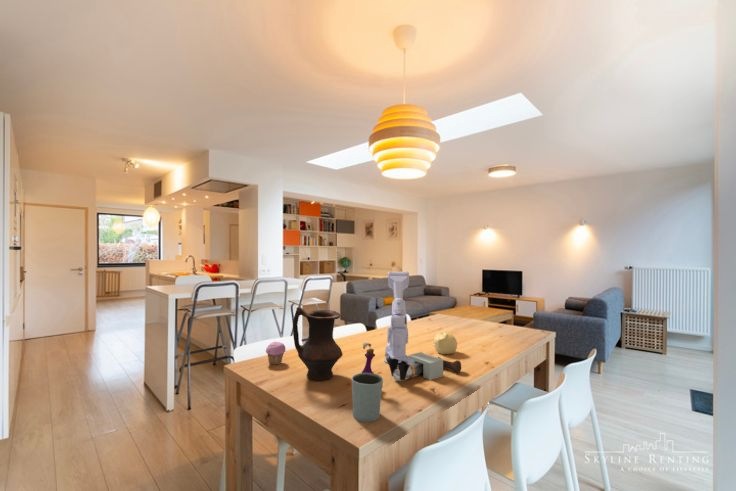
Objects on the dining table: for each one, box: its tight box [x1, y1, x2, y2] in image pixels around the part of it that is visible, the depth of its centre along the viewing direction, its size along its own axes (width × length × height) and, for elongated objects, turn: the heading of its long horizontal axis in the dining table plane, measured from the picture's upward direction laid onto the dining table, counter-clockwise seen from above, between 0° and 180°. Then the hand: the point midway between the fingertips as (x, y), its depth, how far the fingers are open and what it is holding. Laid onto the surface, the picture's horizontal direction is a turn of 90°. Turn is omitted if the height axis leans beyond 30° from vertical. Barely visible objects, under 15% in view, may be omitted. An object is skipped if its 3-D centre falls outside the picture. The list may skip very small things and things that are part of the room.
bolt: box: [436, 356, 462, 374], centre depth 152 cm, size 6×5×15 cm
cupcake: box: [265, 341, 286, 365], centre depth 157 cm, size 9×9×10 cm
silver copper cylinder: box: [391, 363, 423, 382], centre depth 140 cm, size 6×14×6 cm, turn 127°
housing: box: [407, 351, 444, 381], centre depth 146 cm, size 13×8×7 cm, turn 37°
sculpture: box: [433, 331, 458, 355], centre depth 177 cm, size 12×12×11 cm
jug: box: [292, 305, 344, 382], centre depth 141 cm, size 21×18×30 cm
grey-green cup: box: [351, 372, 384, 423], centre depth 108 cm, size 10×10×12 cm
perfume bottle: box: [361, 342, 376, 374], centre depth 128 cm, size 8×8×18 cm
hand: (398, 377), depth 136 cm, fingers closed on silver copper cylinder, 5 cm apart
